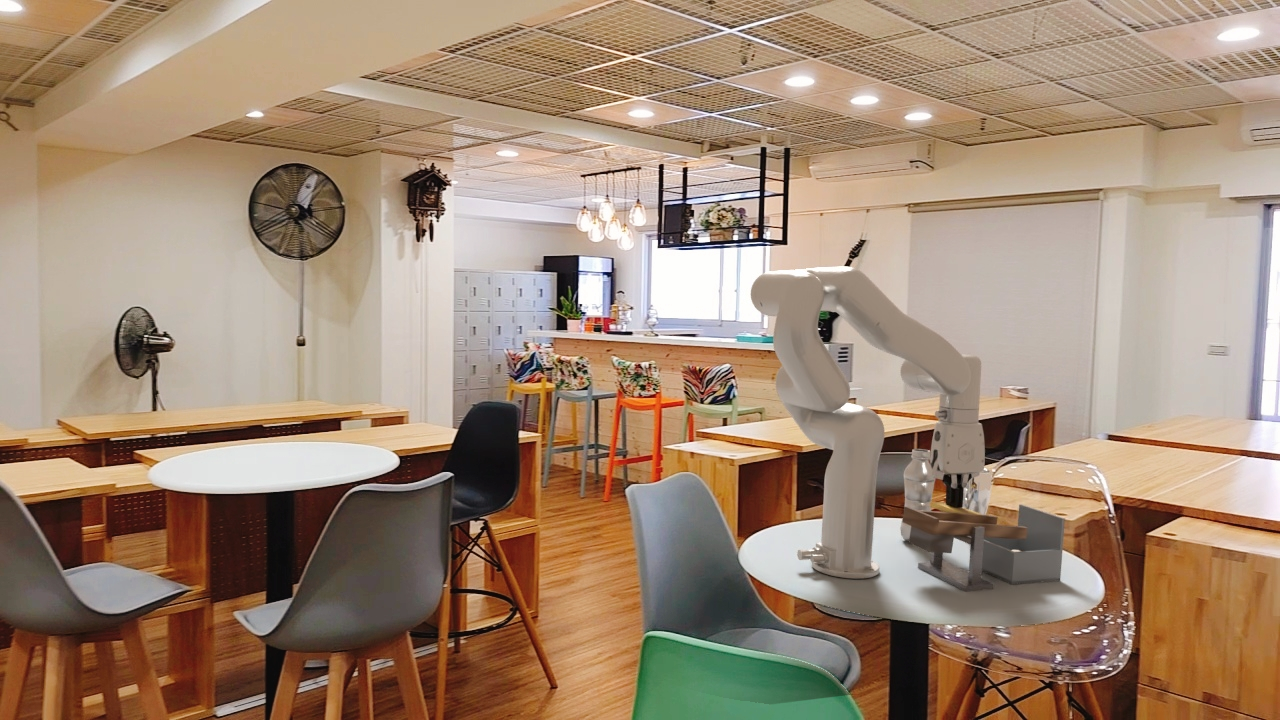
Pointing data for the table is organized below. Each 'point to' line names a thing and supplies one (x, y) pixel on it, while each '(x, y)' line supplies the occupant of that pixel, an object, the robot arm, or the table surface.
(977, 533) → the pivot stand
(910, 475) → the plastic bottle
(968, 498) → the beer glass
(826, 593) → the table surface
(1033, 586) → the table surface
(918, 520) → the lever chute
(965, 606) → the table surface
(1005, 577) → the cup
